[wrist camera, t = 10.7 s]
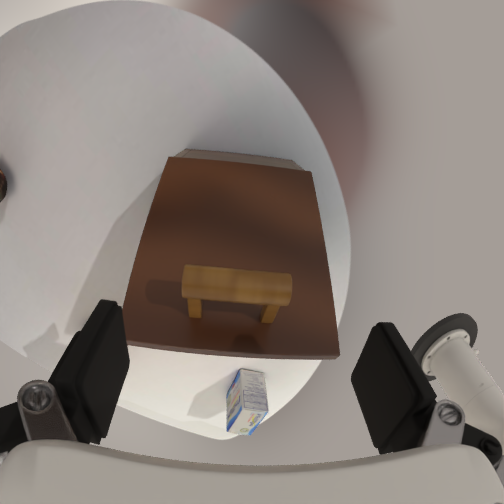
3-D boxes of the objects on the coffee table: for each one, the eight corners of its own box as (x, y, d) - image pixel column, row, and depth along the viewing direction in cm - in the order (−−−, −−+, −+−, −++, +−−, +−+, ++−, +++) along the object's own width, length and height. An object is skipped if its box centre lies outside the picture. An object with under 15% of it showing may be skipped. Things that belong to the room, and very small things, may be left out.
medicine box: (240, 367, 49) (241, 408, 41) (264, 372, 50) (269, 412, 42) (226, 394, 52) (225, 432, 44) (249, 398, 53) (251, 436, 45)
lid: (335, 359, 17) (373, 326, 13) (119, 343, 16) (92, 304, 12) (309, 178, 27) (324, 133, 23) (168, 163, 26) (167, 115, 22)
